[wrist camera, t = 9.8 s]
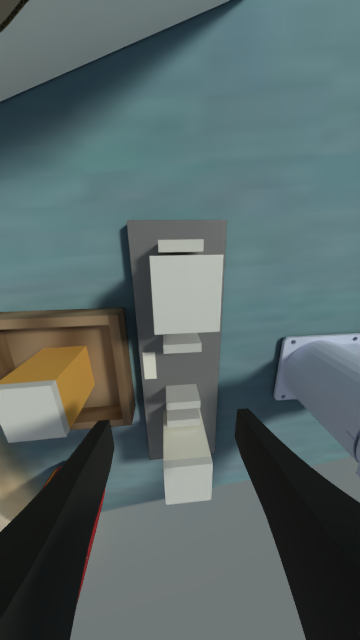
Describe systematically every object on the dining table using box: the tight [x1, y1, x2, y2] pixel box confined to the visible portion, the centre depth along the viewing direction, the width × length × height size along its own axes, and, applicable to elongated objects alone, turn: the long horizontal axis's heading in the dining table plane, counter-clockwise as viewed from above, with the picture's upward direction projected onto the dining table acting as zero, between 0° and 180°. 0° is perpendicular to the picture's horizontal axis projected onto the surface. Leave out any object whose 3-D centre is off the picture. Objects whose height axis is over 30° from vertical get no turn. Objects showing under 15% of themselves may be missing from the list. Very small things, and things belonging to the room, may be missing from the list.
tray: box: [0, 308, 135, 430], centre depth 18 cm, size 12×12×2 cm
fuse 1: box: [149, 255, 224, 335], centre depth 14 cm, size 4×4×6 cm
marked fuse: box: [0, 346, 95, 443], centre depth 16 cm, size 4×4×6 cm
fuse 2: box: [163, 408, 213, 505], centre depth 19 cm, size 4×4×6 cm
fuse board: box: [127, 220, 227, 460], centre depth 18 cm, size 8×26×4 cm, turn 1°
